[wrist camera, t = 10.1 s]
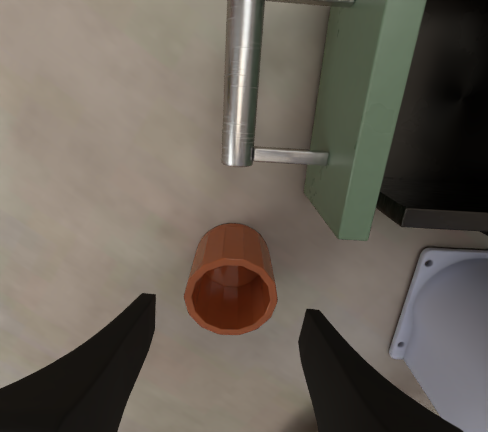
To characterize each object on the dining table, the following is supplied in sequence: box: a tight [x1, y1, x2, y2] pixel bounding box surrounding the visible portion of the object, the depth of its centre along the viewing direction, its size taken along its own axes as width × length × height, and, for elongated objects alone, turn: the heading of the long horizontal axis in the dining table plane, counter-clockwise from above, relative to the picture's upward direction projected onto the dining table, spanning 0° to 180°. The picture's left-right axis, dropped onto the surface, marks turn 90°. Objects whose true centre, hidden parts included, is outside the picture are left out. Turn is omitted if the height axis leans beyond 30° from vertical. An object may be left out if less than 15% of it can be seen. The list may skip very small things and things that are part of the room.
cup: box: [184, 223, 278, 335], centre depth 17 cm, size 5×5×5 cm
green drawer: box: [221, 0, 488, 241], centre depth 12 cm, size 16×11×6 cm
